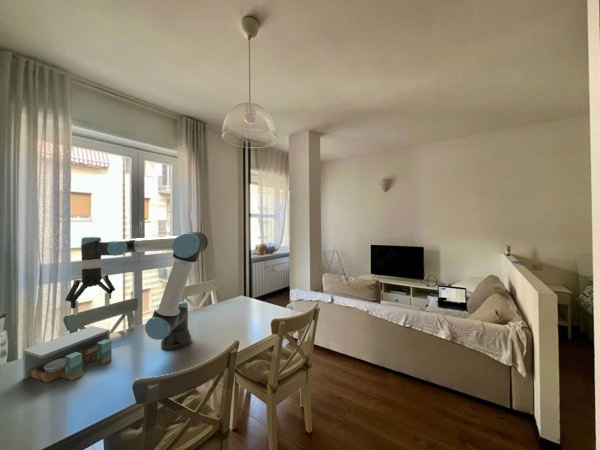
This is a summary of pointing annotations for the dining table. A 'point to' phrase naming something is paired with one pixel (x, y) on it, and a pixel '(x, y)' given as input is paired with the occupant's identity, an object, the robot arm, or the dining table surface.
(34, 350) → the shelf
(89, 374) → the dining table surface
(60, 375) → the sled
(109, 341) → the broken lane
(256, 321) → the dining table surface
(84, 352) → the oak cube
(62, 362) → the ramekin
